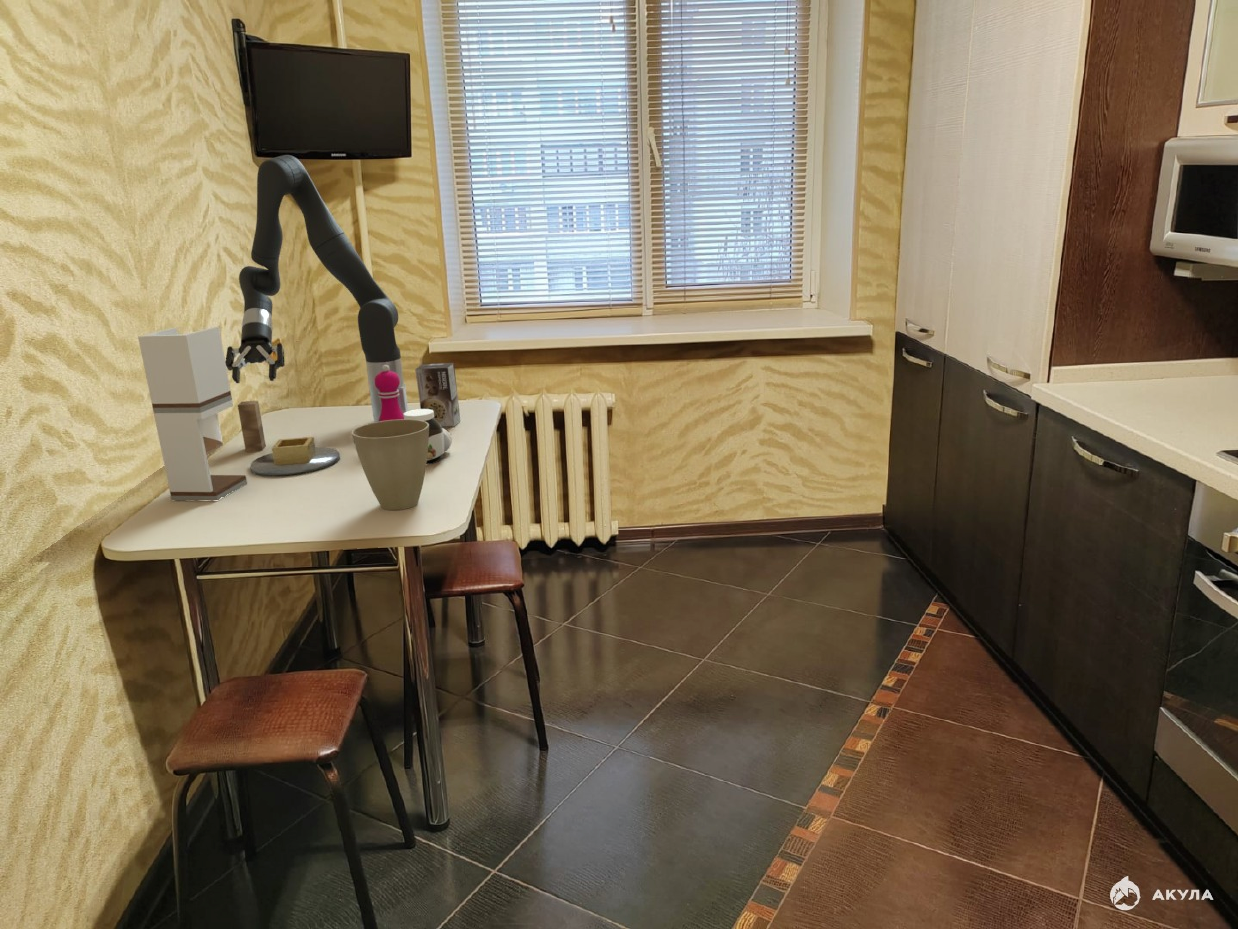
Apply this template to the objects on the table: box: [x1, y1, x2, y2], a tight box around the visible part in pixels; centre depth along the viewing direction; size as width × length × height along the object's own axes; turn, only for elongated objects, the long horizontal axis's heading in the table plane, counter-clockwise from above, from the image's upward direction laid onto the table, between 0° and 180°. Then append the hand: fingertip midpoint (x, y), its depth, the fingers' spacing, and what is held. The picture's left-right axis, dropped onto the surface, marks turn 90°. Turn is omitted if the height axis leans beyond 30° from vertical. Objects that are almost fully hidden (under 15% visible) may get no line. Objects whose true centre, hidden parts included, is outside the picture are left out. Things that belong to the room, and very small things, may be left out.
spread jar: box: [404, 408, 453, 465], centre depth 212 cm, size 12×11×12 cm
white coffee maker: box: [137, 326, 248, 501], centre depth 191 cm, size 11×11×35 cm
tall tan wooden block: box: [237, 400, 267, 453], centre depth 227 cm, size 4×4×12 cm
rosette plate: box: [250, 436, 341, 478], centre depth 214 cm, size 20×20×5 cm
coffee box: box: [414, 362, 461, 428], centre depth 242 cm, size 9×6×16 cm
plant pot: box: [351, 419, 429, 511], centre depth 181 cm, size 15×15×16 cm
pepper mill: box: [375, 365, 404, 422], centre depth 225 cm, size 7×7×20 cm
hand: (254, 380), depth 233 cm, fingers open, 8 cm apart
